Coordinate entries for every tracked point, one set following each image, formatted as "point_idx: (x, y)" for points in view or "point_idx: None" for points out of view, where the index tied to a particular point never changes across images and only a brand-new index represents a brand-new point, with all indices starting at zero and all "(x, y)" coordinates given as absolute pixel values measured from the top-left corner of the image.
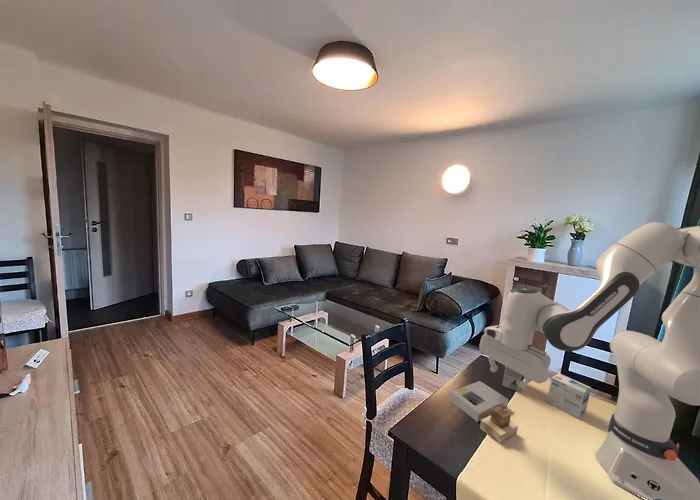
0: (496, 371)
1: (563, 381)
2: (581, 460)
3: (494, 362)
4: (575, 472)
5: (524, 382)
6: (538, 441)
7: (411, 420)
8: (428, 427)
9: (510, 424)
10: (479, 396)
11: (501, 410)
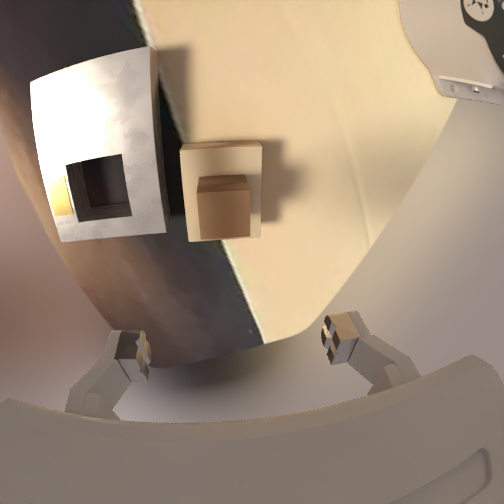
0: (143, 336)
1: None
2: (392, 76)
3: (105, 380)
4: (396, 132)
5: (365, 372)
6: (307, 104)
7: None
8: (154, 328)
9: (244, 165)
10: (95, 157)
11: (218, 208)
